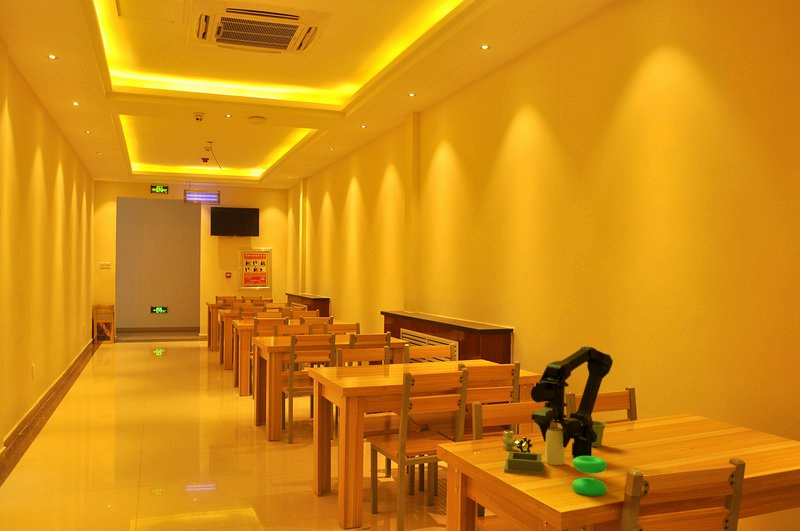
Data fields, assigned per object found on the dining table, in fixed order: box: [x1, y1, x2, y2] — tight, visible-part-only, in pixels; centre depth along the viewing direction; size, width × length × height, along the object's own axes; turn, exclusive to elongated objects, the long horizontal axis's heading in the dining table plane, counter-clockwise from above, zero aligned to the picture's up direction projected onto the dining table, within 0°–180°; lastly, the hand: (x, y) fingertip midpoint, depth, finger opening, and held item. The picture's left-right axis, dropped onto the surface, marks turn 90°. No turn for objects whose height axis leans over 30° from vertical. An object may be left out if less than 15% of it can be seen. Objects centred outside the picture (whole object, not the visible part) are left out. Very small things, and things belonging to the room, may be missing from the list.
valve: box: [502, 430, 533, 453], centre depth 257 cm, size 7×7×12 cm
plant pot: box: [592, 420, 607, 448], centre depth 270 cm, size 9×9×9 cm
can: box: [544, 426, 565, 467], centre depth 242 cm, size 6×6×12 cm
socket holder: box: [503, 450, 545, 476], centre depth 234 cm, size 13×13×4 cm
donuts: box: [571, 455, 608, 497], centre depth 211 cm, size 10×10×10 cm
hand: (555, 444), depth 242 cm, fingers open, 9 cm apart
